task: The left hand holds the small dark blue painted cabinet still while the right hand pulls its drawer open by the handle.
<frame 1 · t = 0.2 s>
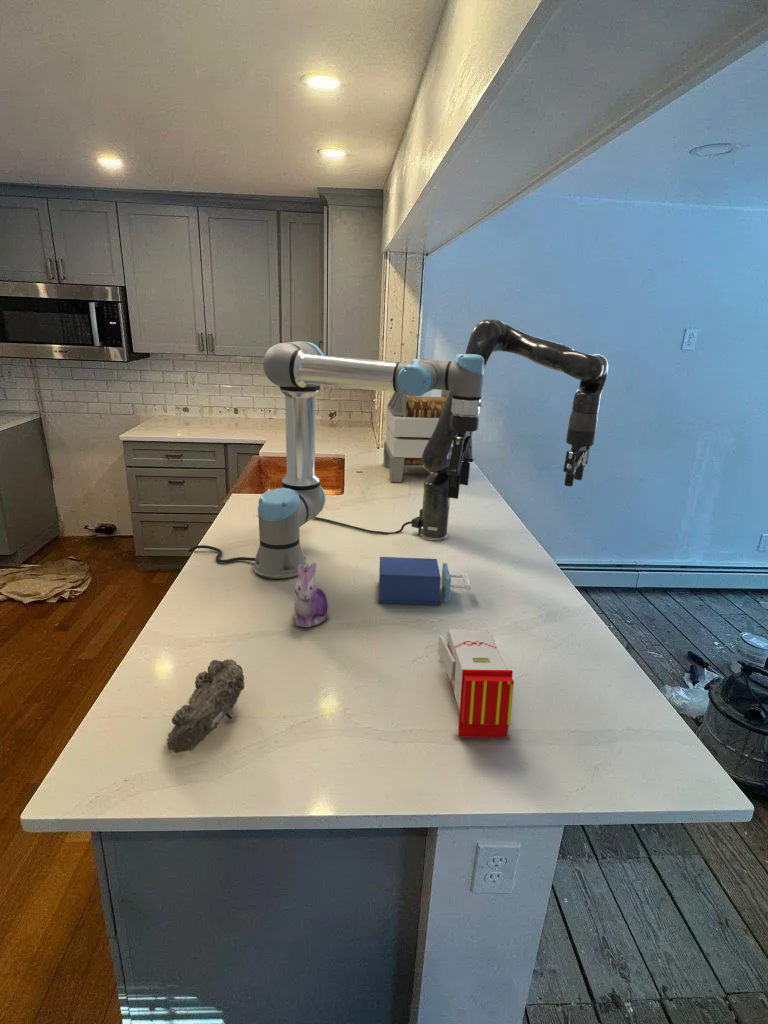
left hand: (458, 490, 158), 28 cm above the counter, tool pointing down, fingers open, 13 cm apart
right hand: (573, 482, 165), 29 cm above the counter, tool pointing down, fingers open, 8 cm apart
drawer: (431, 581, 157), point 4 cm above the counter, slide at 1.7 cm
figurine: (310, 619, 143), on the counter
fossil: (212, 717, 108), on the counter
toy: (469, 691, 119), on the counter
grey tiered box: (419, 473, 275), on the counter
cabinet: (407, 594, 158), on the counter
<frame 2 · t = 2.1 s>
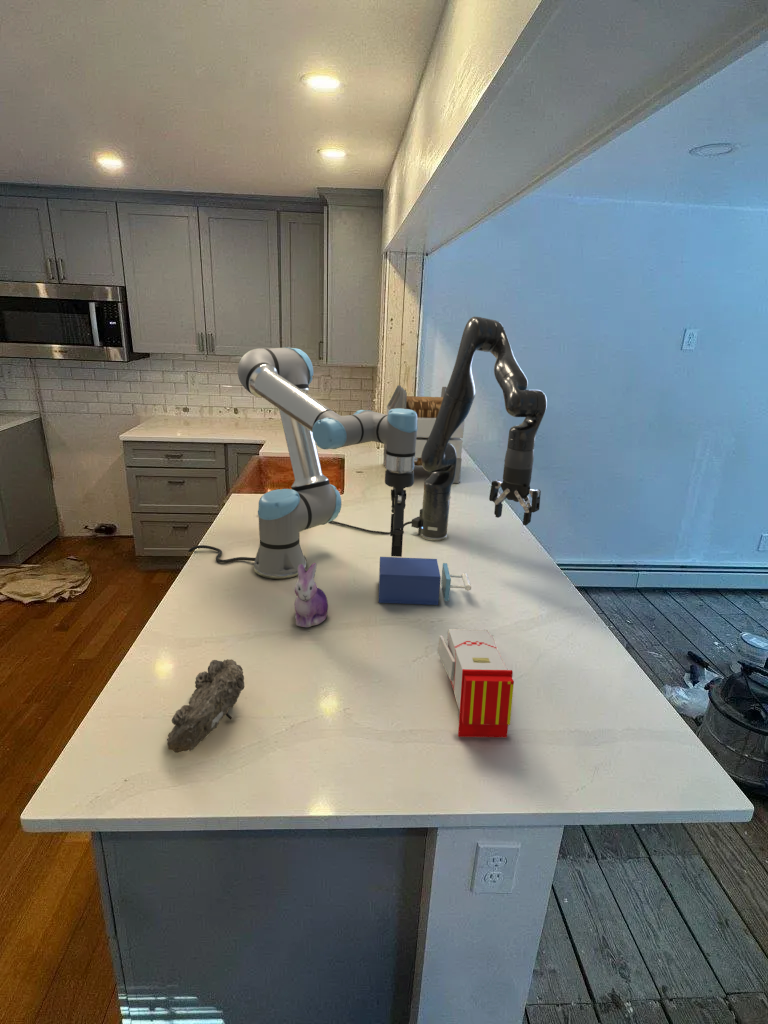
left hand: (395, 545, 153), 14 cm above the counter, tool pointing down, fingers open, 13 cm apart
right hand: (511, 520, 159), 20 cm above the counter, tool pointing down, fingers open, 8 cm apart
nothing on the counter moved.
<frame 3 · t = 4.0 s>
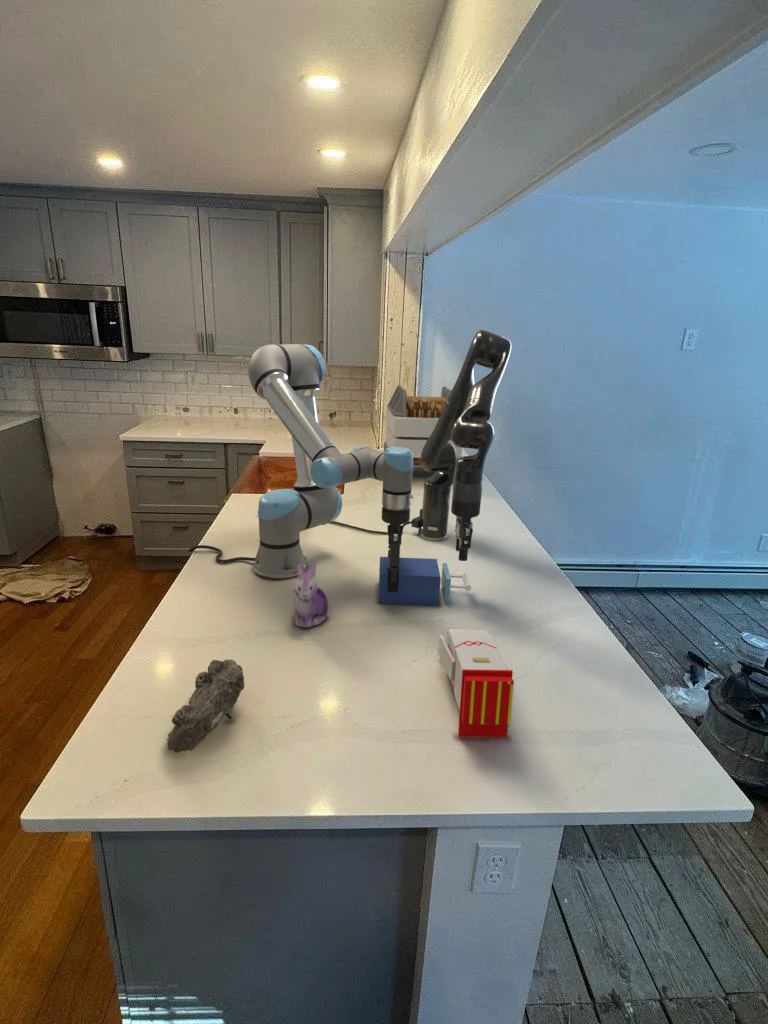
left hand: (392, 580, 157), 4 cm above the counter, tool pointing down, fingers closed on cabinet, 11 cm apart
right hand: (461, 555, 154), 12 cm above the counter, tool pointing down, fingers open, 6 cm apart
cabinet: (407, 594, 158), on the counter, touching left hand
everything else where it was.
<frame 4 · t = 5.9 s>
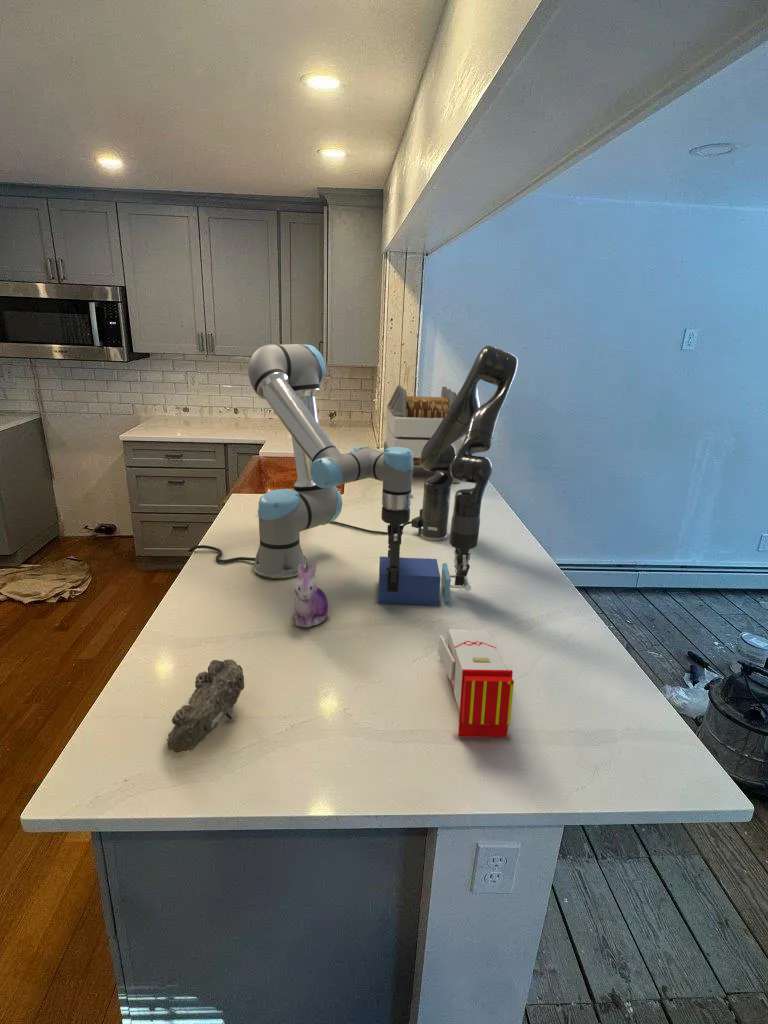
left hand: (392, 580, 157), 4 cm above the counter, tool pointing down, fingers closed on cabinet, 11 cm apart
right hand: (458, 586, 157), 3 cm above the counter, tool pointing down, fingers closed
drawer: (431, 581, 157), point 4 cm above the counter, slide at 1.7 cm, touching right hand
cabinet: (407, 594, 158), on the counter, touching left hand
everything else where it was.
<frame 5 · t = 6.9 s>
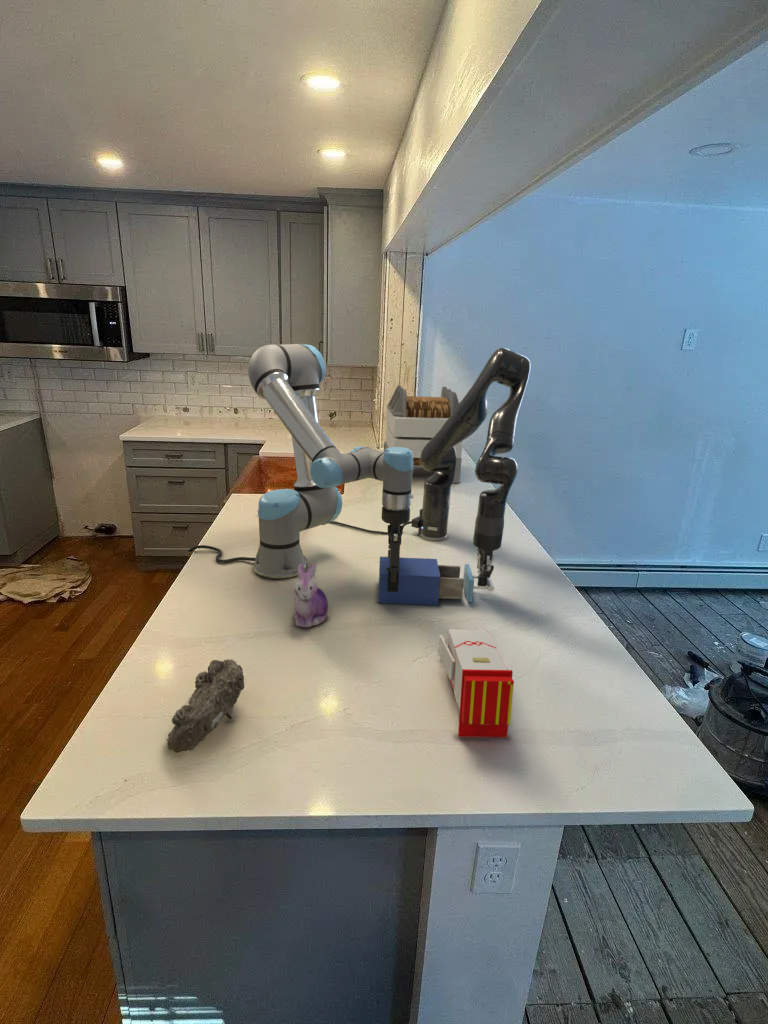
left hand: (392, 580, 157), 4 cm above the counter, tool pointing down, fingers closed on cabinet, 11 cm apart
right hand: (481, 587, 157), 3 cm above the counter, tool pointing down, fingers closed
drawer: (454, 582, 157), point 4 cm above the counter, slide at 8.0 cm, touching right hand
cabinet: (407, 594, 158), on the counter, touching left hand
everything else where it was.
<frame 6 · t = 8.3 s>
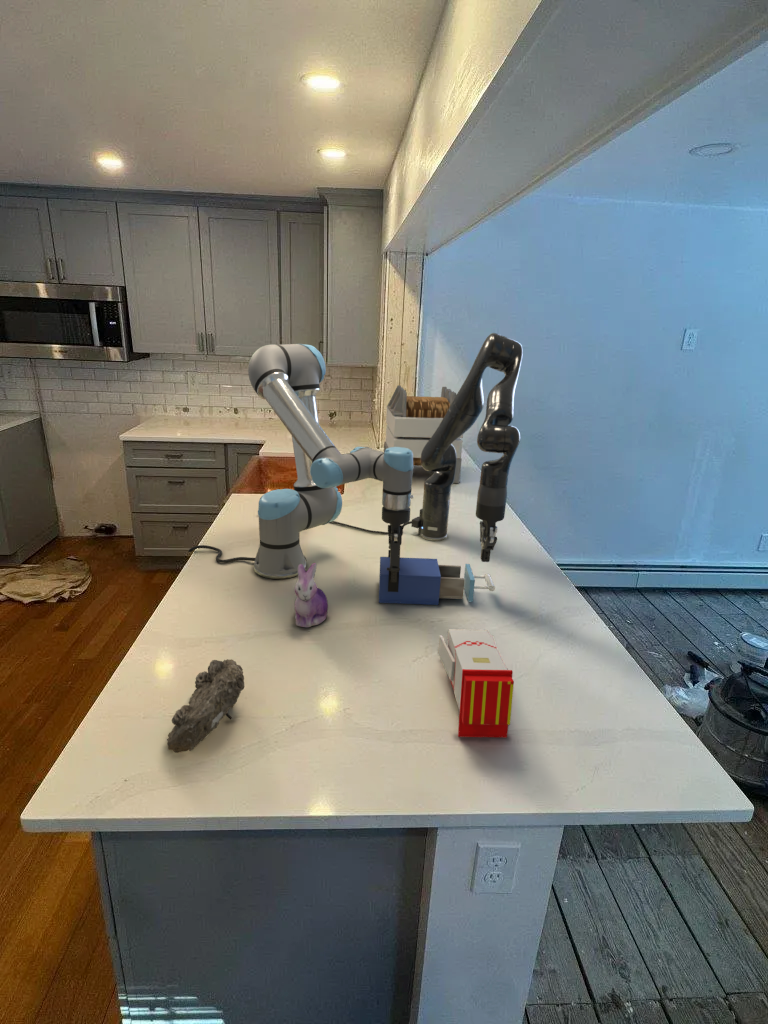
left hand: (392, 581, 157), 4 cm above the counter, tool pointing down, fingers closed on cabinet, 11 cm apart
right hand: (484, 560, 155), 11 cm above the counter, tool pointing down, fingers closed
drawer: (454, 581, 157), point 4 cm above the counter, slide at 8.1 cm
cabinet: (407, 593, 158), on the counter, touching left hand
everything else where it was.
when the left hand's fingers open (4 cm above the counter, at t = 8.7 s): cabinet stays where it is, on the counter.
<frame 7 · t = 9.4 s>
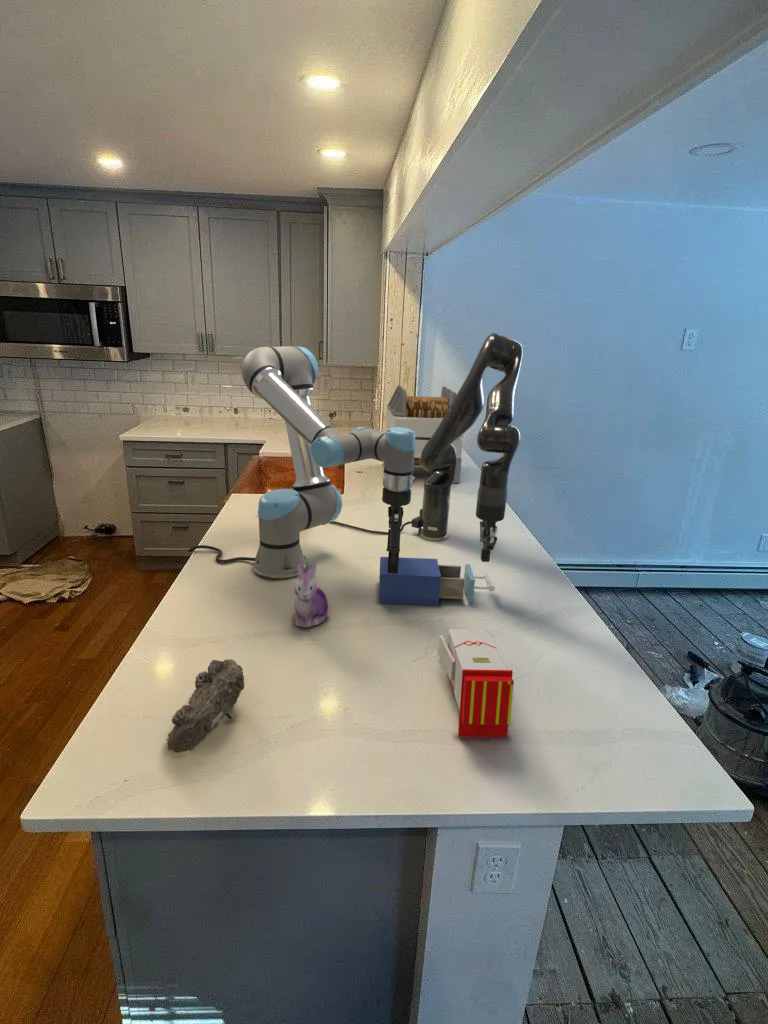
left hand: (392, 561, 155), 10 cm above the counter, tool pointing down, fingers open, 13 cm apart
right hand: (484, 560, 155), 11 cm above the counter, tool pointing down, fingers closed
cabinet: (407, 594, 158), on the counter
everything else where it was.
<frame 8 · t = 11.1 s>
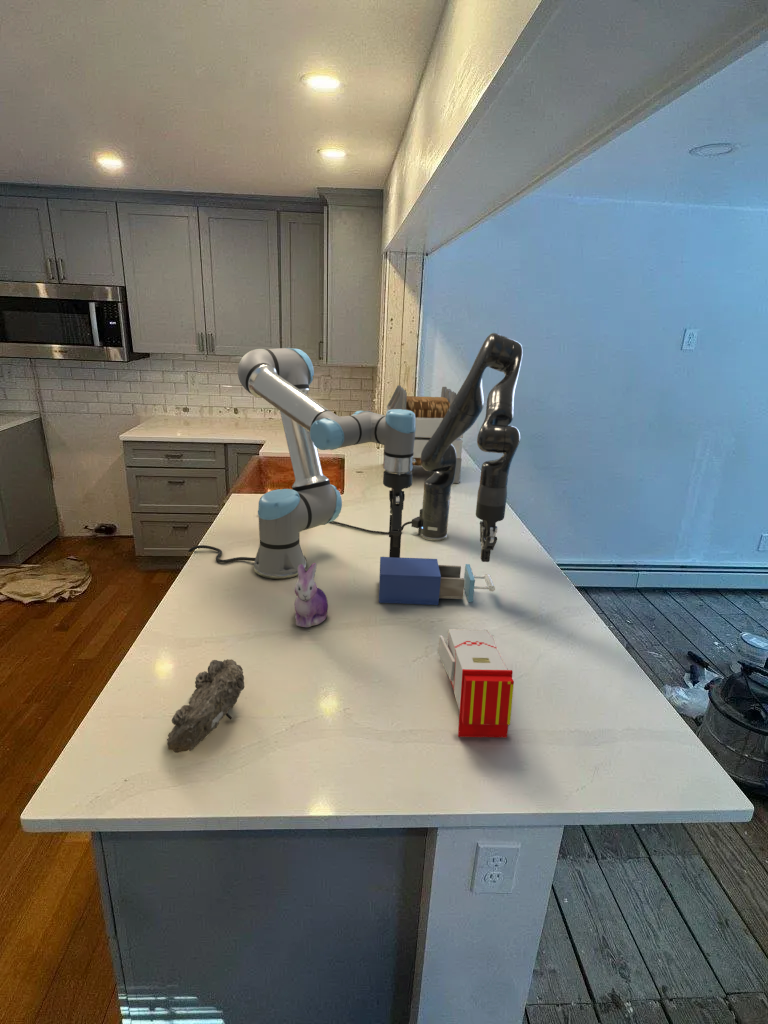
left hand: (394, 546, 153), 14 cm above the counter, tool pointing down, fingers open, 13 cm apart
right hand: (484, 560, 155), 11 cm above the counter, tool pointing down, fingers closed
nothing on the counter moved.
at the end: drawer slide at 8.1 cm; cabinet tilted 0°; cabinet never tilted more than 1° during the clip; cabinet moved 0.1 cm from its start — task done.
